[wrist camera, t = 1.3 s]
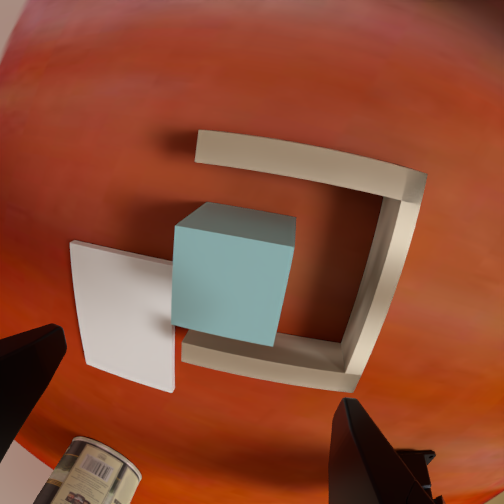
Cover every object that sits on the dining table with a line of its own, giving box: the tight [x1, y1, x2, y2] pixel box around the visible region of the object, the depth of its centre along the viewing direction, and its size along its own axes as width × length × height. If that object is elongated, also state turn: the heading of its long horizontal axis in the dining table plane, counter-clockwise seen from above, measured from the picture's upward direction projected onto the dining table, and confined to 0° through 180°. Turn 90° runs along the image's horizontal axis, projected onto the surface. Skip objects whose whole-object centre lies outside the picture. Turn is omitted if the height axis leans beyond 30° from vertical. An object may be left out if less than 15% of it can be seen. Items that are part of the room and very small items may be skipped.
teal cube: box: [171, 202, 296, 347], centre depth 16 cm, size 5×5×5 cm
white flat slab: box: [70, 240, 175, 393], centre depth 21 cm, size 11×8×1 cm
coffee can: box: [33, 437, 142, 504], centre depth 25 cm, size 10×10×14 cm
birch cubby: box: [182, 130, 427, 393], centre depth 17 cm, size 13×10×3 cm
